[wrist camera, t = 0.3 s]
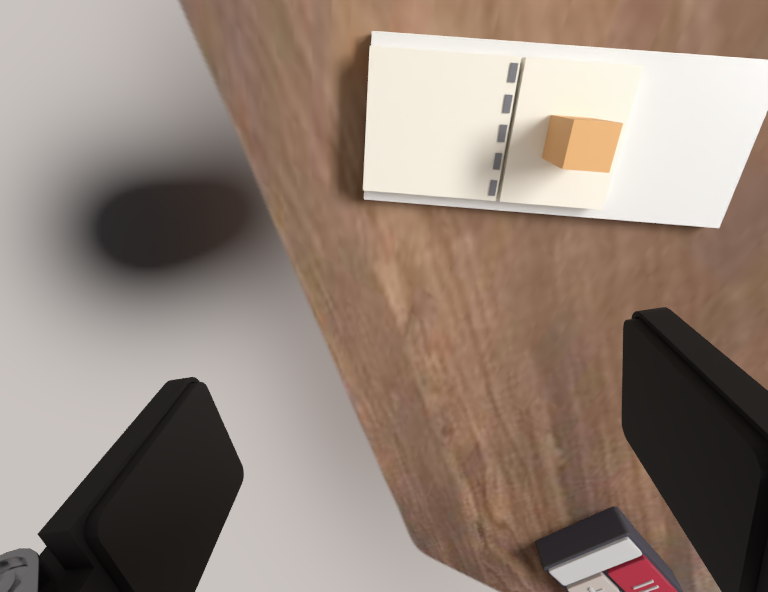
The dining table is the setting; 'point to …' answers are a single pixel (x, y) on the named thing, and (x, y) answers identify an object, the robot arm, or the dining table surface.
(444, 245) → the dining table surface
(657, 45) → the dining table surface
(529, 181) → the stub
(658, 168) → the board
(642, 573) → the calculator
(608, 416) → the dining table surface
